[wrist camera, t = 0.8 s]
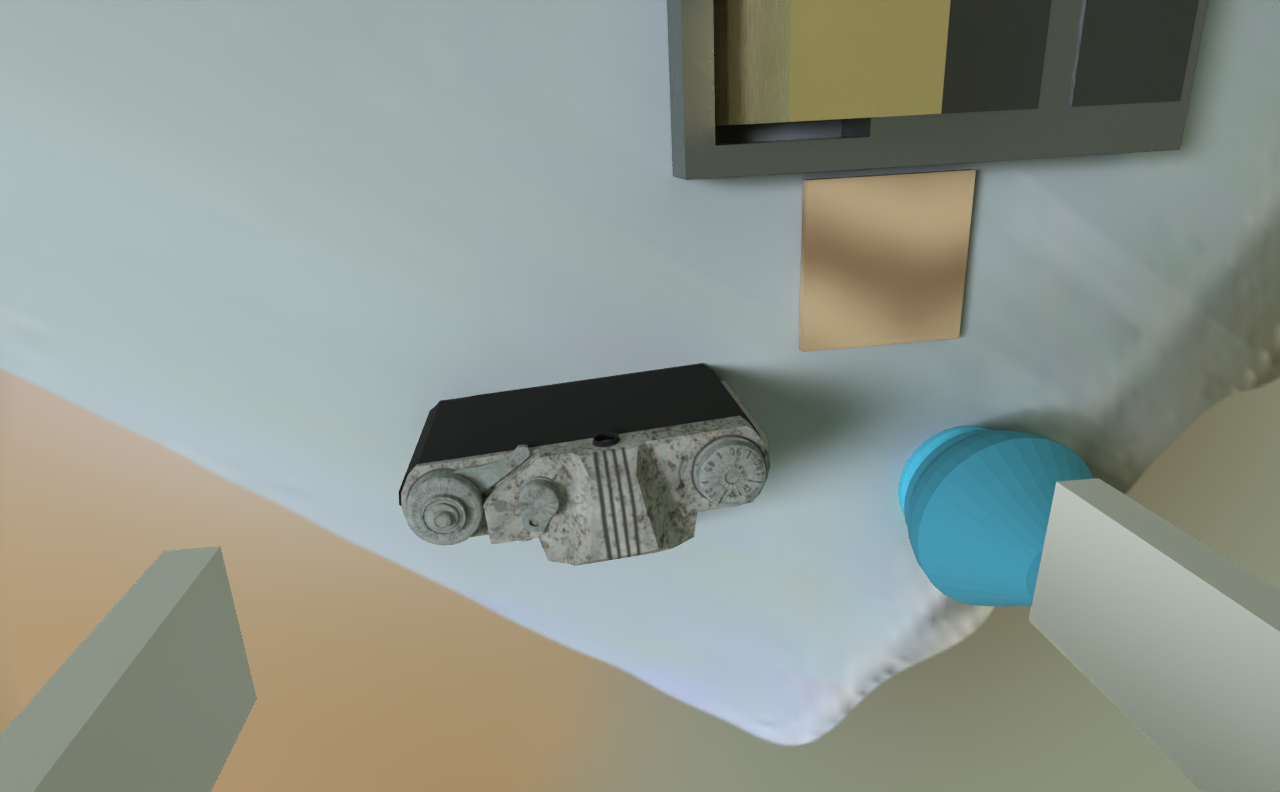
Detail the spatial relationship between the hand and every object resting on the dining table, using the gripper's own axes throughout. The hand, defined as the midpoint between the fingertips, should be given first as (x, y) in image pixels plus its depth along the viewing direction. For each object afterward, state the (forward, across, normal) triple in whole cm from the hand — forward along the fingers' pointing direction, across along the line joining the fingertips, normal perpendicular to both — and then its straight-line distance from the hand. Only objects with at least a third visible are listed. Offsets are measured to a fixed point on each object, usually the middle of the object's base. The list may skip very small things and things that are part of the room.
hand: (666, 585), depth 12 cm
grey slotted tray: (+24, +15, +10) cm, 30 cm away
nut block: (+24, +9, +10) cm, 27 cm away
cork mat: (+24, +14, +1) cm, 28 cm away
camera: (+24, 0, -8) cm, 25 cm away
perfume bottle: (+24, +20, -12) cm, 33 cm away
